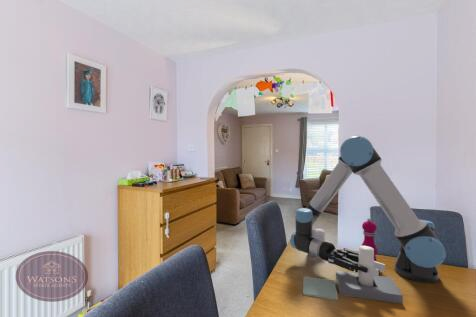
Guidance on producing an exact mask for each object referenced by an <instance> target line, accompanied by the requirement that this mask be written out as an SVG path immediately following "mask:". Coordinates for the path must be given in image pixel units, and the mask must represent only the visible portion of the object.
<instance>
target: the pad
mask: <svg viewBox="0 0 476 317" xmlns="http://www.w3.org/2000/svg"><path fill="white" fill-rule="evenodd" d="M302 279H303V281H302V295H303V296H309V297H316V298H323V299H328V300H335V301H336V300H337V301H339V296H338V291H337V286H336V282H335V280H334V279H333V280H331V279H325V278H318V277H309V276H302Z"/></svg>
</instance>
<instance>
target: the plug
mask: <svg viewBox="0 0 476 317" xmlns="http://www.w3.org/2000/svg"><path fill="white" fill-rule="evenodd" d="M358 253H359V263H362V264H365V265H368V266H371V267H374V249H373V248H372V247H369V246H361V245H359V246H358ZM359 263H358V264H359ZM358 284H359V285H361V286H369V287H373V276H372V275H370V274H367V273H364V272H362V271H359V270H358Z"/></svg>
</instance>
